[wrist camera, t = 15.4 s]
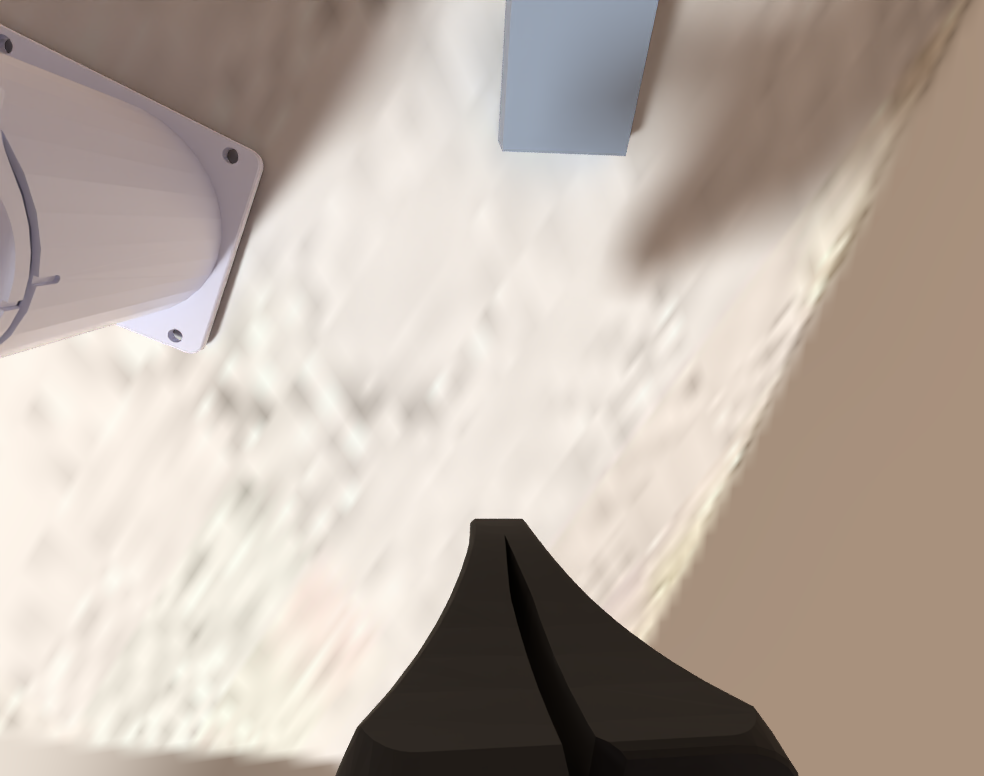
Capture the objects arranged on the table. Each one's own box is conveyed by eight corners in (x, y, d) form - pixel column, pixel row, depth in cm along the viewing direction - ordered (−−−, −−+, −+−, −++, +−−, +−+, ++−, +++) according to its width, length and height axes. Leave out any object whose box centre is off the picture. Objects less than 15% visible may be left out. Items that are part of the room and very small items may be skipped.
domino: (625, 155, 17) (687, -135, 12) (502, 151, 16) (520, -150, 12) (613, 145, 18) (664, -122, 14) (498, 140, 18) (513, -137, 13)
